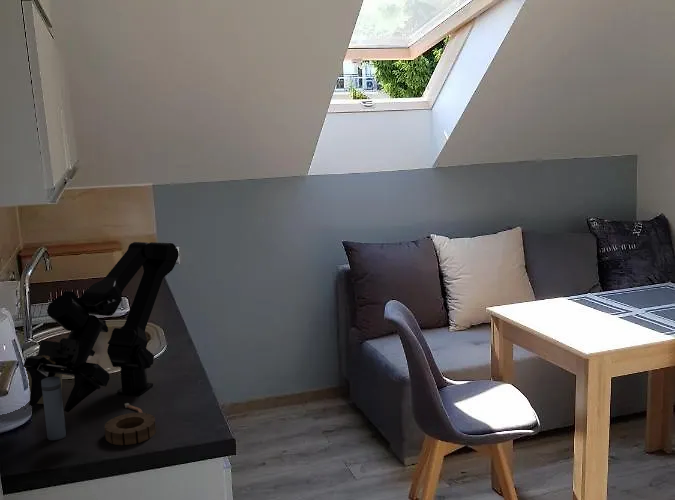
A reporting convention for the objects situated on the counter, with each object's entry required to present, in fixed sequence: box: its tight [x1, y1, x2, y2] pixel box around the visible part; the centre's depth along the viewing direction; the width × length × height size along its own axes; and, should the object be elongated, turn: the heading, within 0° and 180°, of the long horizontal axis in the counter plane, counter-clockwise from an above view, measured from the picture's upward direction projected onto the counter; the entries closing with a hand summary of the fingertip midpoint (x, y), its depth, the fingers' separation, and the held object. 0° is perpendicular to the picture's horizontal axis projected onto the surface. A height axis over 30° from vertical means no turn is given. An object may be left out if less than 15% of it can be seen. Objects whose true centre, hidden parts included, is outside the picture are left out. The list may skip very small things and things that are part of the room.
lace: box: [124, 402, 144, 413], centre depth 153 cm, size 12×3×1 cm, turn 26°
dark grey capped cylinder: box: [41, 377, 67, 441], centre depth 143 cm, size 4×4×12 cm
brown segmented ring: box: [104, 411, 157, 446], centre depth 144 cm, size 10×10×2 cm
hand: (48, 408), depth 141 cm, fingers open, 9 cm apart
